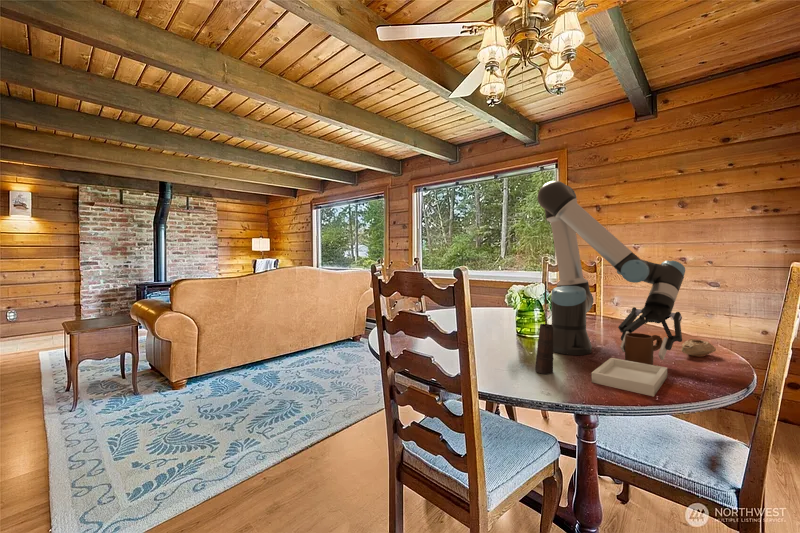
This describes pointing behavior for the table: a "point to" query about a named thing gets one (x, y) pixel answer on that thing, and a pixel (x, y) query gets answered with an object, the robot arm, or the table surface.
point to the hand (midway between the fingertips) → (640, 353)
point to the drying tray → (630, 376)
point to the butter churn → (545, 345)
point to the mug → (641, 347)
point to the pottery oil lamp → (697, 347)
